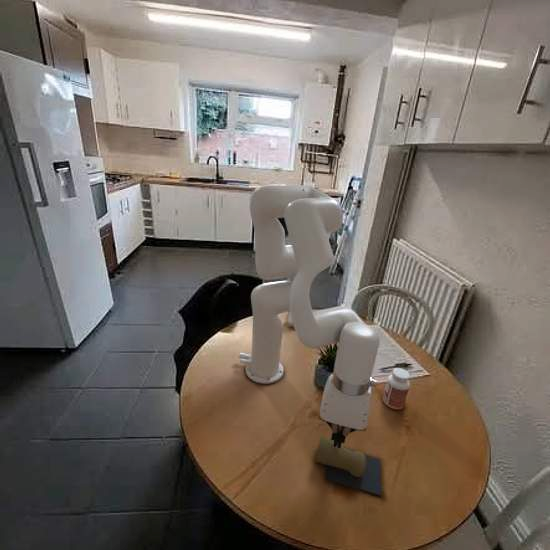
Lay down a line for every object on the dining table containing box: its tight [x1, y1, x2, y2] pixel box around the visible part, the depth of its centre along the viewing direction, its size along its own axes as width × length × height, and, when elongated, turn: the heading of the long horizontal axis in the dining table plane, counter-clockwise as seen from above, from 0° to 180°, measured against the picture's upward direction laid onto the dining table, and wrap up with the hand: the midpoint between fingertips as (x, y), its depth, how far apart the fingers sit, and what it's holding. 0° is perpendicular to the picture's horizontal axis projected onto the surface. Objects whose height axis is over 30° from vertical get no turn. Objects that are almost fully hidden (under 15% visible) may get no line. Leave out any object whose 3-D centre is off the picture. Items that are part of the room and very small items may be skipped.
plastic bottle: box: [285, 311, 295, 328], centre depth 127 cm, size 6×7×20 cm
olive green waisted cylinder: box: [314, 434, 366, 477], centre depth 73 cm, size 6×6×11 cm
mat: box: [326, 450, 382, 497], centre depth 73 cm, size 12×9×1 cm
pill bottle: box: [382, 367, 411, 410], centre depth 92 cm, size 6×6×11 cm
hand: (337, 442), depth 71 cm, fingers closed
